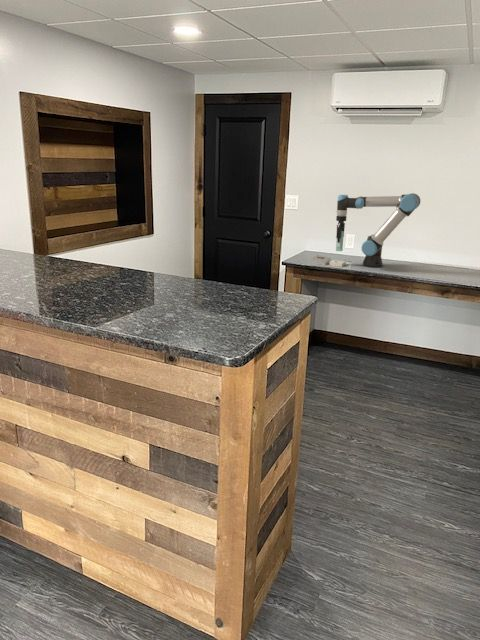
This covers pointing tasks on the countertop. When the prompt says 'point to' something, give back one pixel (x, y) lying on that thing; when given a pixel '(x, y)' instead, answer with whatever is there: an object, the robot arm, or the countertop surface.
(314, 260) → the port panel
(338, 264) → the holster
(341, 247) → the plug
